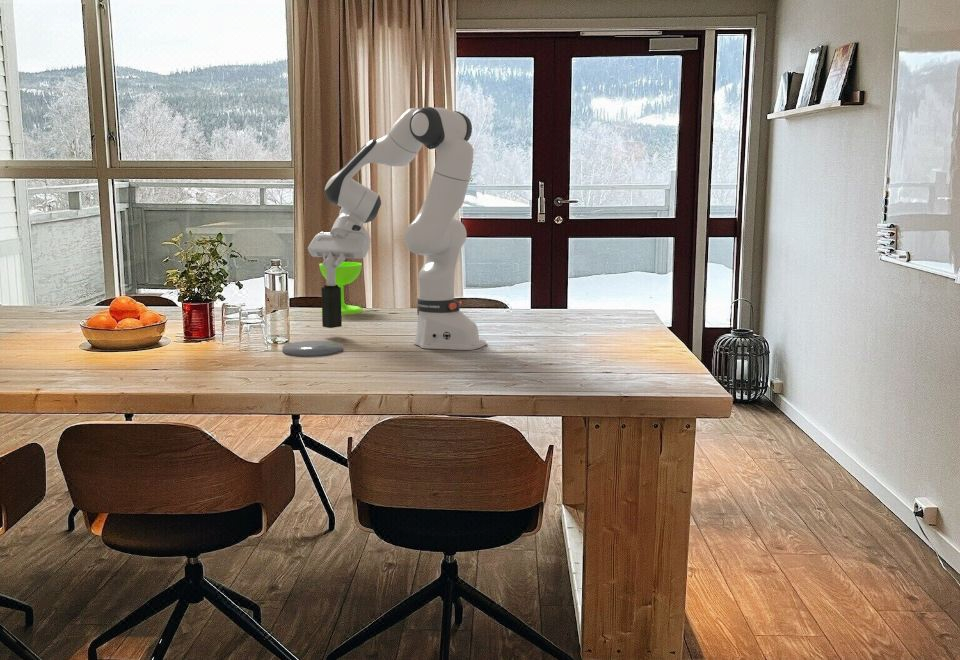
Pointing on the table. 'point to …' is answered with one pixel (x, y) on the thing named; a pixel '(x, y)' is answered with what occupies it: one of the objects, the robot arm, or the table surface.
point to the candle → (331, 297)
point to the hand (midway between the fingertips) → (330, 265)
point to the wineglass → (345, 282)
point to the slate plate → (312, 348)
